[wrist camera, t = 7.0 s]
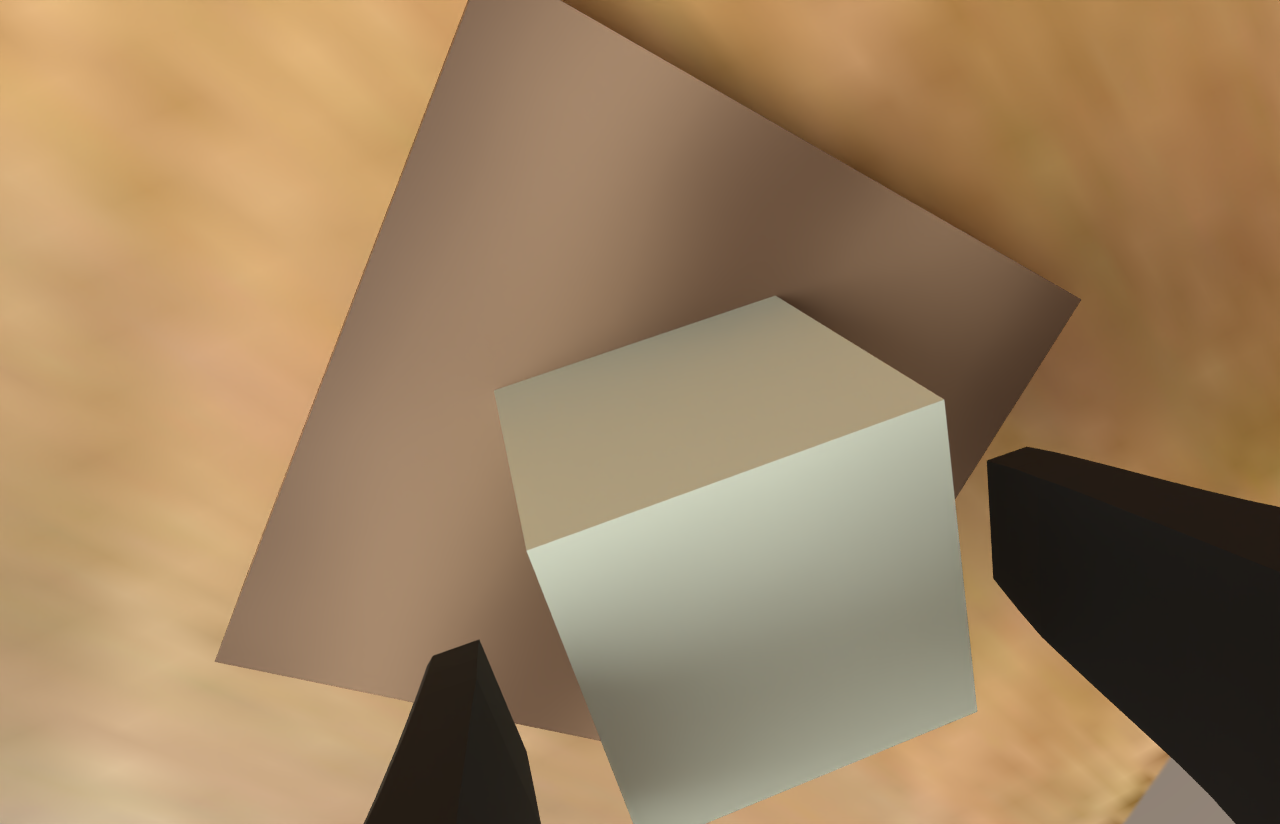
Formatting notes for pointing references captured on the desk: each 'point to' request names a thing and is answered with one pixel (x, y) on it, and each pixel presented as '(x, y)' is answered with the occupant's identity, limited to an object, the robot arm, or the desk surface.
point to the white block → (743, 555)
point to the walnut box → (577, 336)
